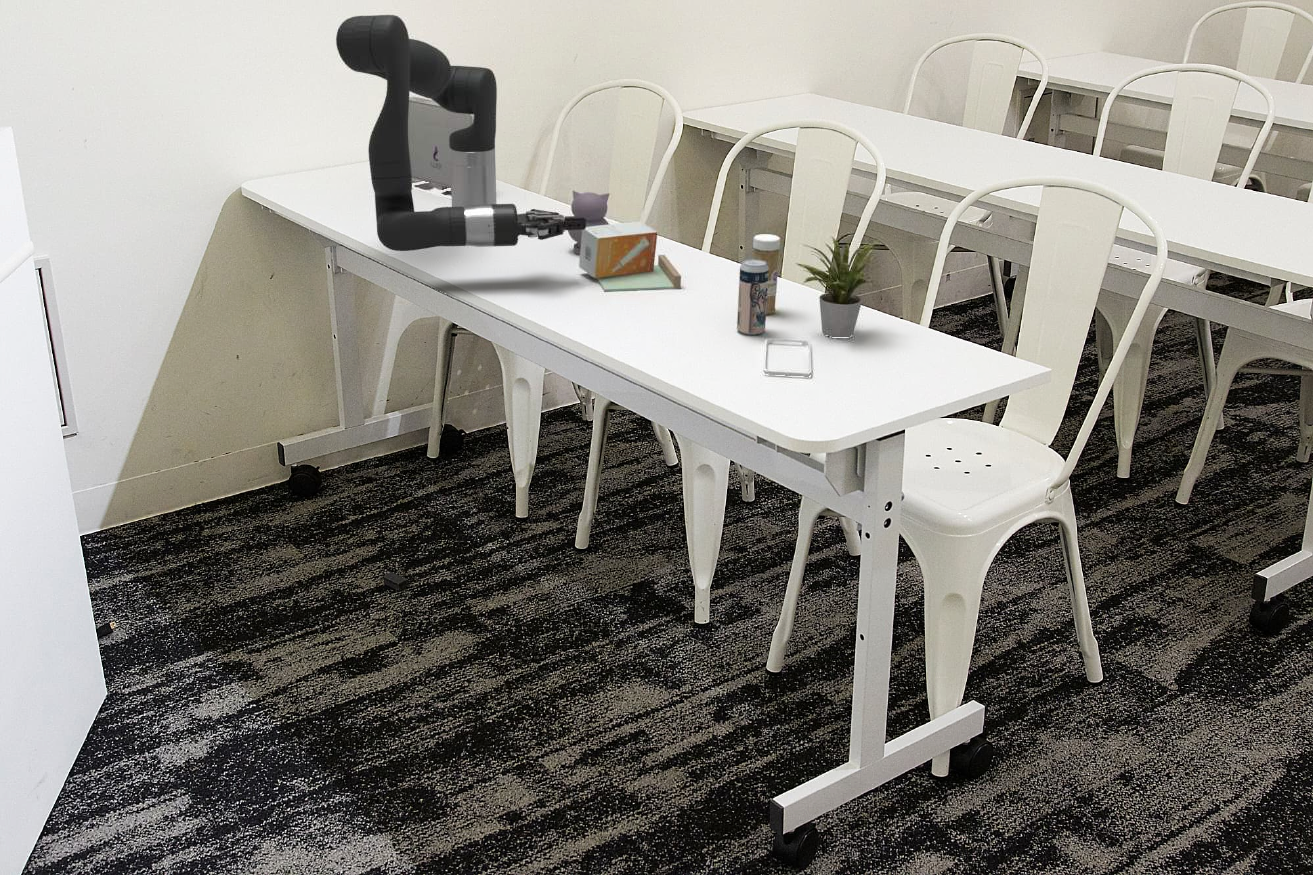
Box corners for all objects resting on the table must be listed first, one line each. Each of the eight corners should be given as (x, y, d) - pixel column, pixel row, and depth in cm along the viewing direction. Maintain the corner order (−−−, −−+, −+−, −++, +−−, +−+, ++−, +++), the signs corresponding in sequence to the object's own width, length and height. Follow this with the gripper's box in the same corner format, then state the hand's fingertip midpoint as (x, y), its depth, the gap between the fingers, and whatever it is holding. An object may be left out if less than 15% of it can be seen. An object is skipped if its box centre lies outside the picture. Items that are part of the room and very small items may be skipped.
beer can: (756, 338, 218) (760, 268, 213) (731, 332, 220) (734, 263, 215) (770, 330, 221) (774, 261, 217) (745, 325, 224) (748, 256, 219)
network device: (393, 184, 311) (388, 98, 303) (422, 179, 317) (418, 94, 309) (467, 203, 296) (464, 113, 288) (495, 197, 302) (493, 108, 294)
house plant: (833, 312, 231) (841, 221, 224) (898, 332, 222) (908, 238, 215) (780, 330, 222) (787, 235, 215) (845, 351, 213) (854, 253, 206)
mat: (591, 269, 251) (591, 257, 250) (664, 266, 254) (664, 254, 253) (604, 291, 239) (604, 278, 238) (680, 288, 242) (680, 275, 241)
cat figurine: (562, 255, 260) (562, 195, 255) (575, 245, 267) (575, 186, 262) (603, 259, 258) (603, 199, 253) (615, 249, 265) (616, 190, 260)
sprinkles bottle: (772, 317, 228) (777, 241, 223) (746, 313, 229) (751, 238, 224) (778, 309, 232) (783, 234, 227) (753, 306, 233) (757, 232, 228)
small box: (598, 238, 240) (658, 231, 246) (581, 226, 244) (640, 220, 251) (594, 279, 243) (654, 271, 250) (578, 267, 248) (637, 260, 254)
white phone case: (811, 381, 202) (809, 348, 215) (811, 373, 201) (810, 340, 215) (762, 378, 202) (764, 345, 216) (763, 370, 202) (765, 337, 215)
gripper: (493, 214, 229) (591, 211, 233) (486, 196, 241) (579, 193, 244) (494, 255, 232) (591, 252, 236) (487, 236, 244) (579, 233, 248)
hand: (585, 222), depth 240 cm, fingers closed
